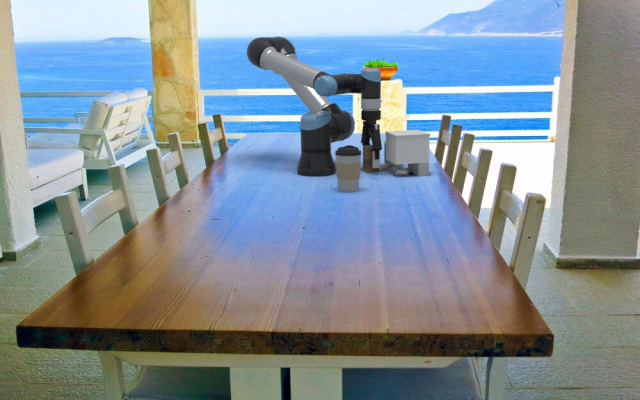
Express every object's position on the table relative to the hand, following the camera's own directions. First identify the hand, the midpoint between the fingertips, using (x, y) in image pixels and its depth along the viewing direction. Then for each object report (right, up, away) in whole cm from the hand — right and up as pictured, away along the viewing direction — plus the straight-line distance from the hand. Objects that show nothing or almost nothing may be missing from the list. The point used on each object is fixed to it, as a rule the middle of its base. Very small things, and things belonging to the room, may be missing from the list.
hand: (371, 164), depth 268 cm
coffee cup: (-10, -10, -31) cm, 34 cm away
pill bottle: (+10, -1, +9) cm, 13 cm away
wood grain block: (+5, -2, +2) cm, 5 cm away
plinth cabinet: (+13, -4, -5) cm, 15 cm away
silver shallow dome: (+11, -4, -7) cm, 14 cm away
